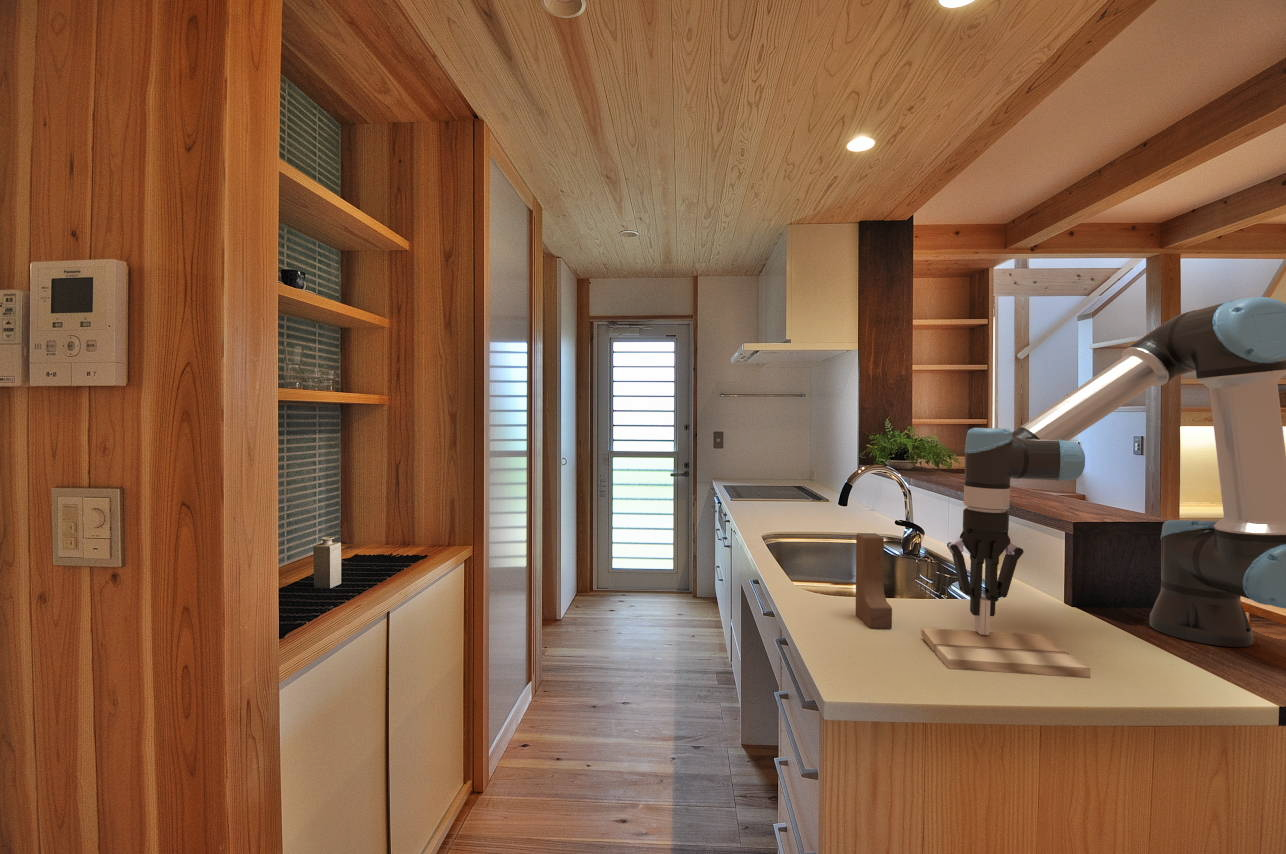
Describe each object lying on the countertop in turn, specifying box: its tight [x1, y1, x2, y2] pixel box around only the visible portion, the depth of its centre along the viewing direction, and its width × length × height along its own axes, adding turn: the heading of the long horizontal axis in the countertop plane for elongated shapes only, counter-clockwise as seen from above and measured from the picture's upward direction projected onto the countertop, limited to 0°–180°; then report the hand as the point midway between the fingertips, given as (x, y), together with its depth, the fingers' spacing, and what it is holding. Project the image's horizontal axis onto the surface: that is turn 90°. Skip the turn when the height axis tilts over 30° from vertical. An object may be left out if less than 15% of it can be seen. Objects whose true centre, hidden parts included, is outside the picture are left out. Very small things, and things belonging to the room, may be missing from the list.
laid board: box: [934, 645, 1091, 679], centre depth 101 cm, size 22×6×2 cm, turn 82°
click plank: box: [921, 627, 1067, 653], centre depth 108 cm, size 22×7×2 cm, turn 82°
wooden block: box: [855, 532, 893, 630], centre depth 123 cm, size 9×4×18 cm, turn 179°
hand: (981, 632), depth 111 cm, fingers closed
